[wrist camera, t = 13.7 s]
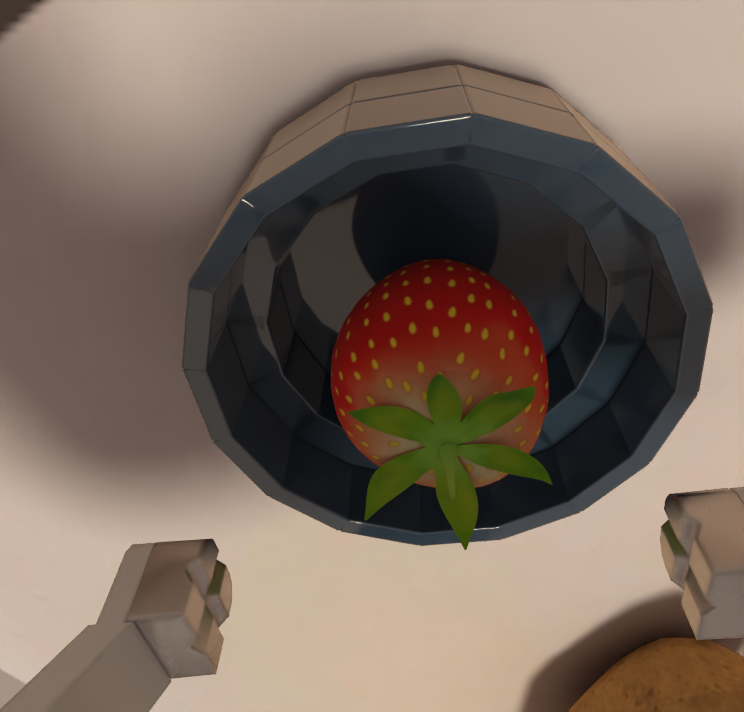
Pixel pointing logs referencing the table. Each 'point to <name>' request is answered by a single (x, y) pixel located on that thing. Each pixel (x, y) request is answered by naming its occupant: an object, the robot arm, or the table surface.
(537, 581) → the table surface
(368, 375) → the fruit
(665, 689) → the potato
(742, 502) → the robot arm
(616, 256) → the bowl
